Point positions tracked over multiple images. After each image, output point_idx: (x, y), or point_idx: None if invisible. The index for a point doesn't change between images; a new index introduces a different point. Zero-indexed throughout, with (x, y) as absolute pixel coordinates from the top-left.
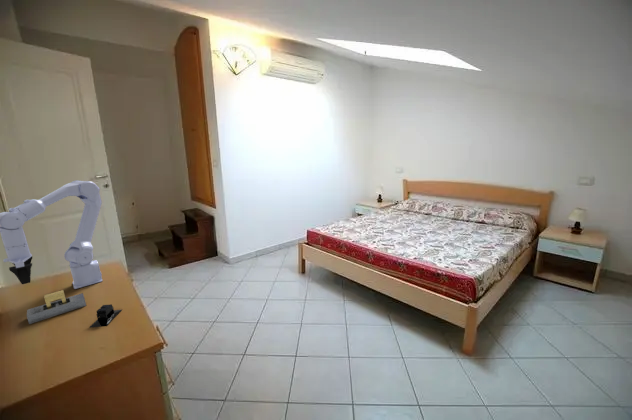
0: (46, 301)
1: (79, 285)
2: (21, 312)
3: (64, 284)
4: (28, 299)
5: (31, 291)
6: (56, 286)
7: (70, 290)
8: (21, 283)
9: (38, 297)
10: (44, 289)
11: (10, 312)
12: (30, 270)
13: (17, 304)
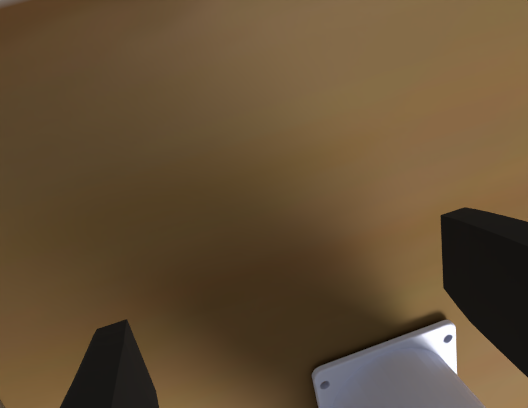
0: None
1: (339, 395)
2: (61, 114)
3: None
4: (345, 84)
5: (515, 56)
6: None
7: (315, 343)
8: (95, 336)
9: (334, 155)
10: (479, 150)
11: (120, 10)
12: (506, 351)
13: (288, 19)
